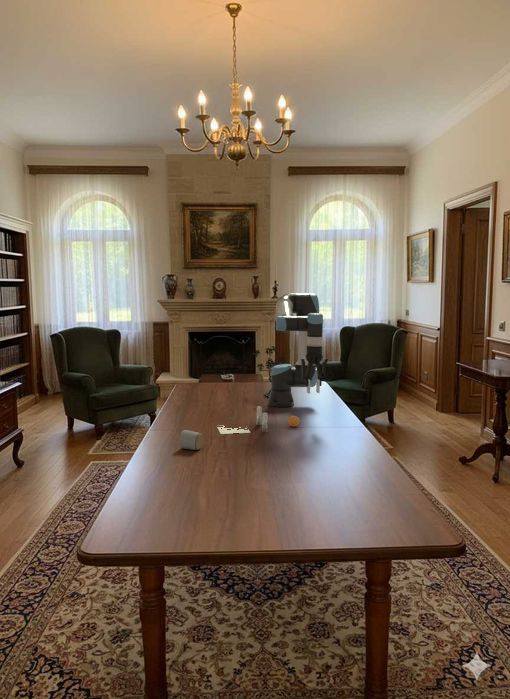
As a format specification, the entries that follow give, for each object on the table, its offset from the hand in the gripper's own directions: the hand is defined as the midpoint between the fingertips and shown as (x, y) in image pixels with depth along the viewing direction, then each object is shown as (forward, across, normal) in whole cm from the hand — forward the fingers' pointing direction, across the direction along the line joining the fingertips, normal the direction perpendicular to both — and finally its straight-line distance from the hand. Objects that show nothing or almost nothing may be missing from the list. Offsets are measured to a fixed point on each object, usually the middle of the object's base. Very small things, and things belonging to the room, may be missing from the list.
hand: (313, 392), depth 245 cm
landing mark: (+17, +40, 0) cm, 43 cm away
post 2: (+17, +26, +6) cm, 31 cm away
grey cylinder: (+17, +61, +24) cm, 68 cm away
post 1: (+17, +26, -6) cm, 31 cm away
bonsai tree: (+17, +4, -68) cm, 70 cm away
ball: (+14, +10, 0) cm, 17 cm away
